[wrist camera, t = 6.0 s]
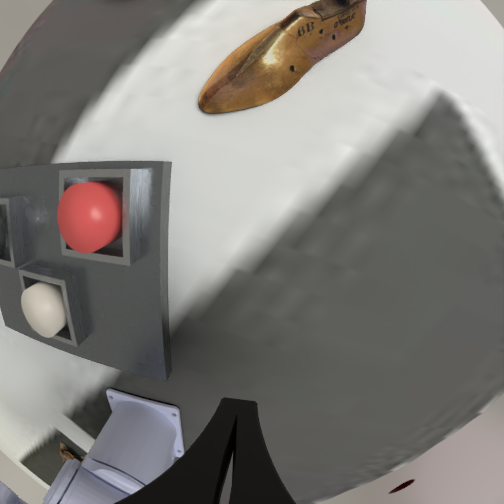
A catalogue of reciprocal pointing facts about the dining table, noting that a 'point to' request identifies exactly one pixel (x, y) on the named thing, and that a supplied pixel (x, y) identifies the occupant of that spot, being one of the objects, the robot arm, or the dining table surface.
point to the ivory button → (44, 308)
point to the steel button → (2, 236)
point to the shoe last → (281, 55)
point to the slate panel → (93, 263)
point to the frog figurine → (68, 455)
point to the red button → (90, 215)
